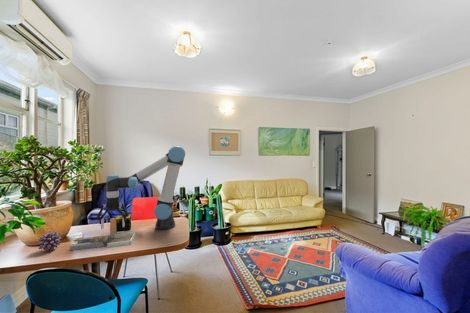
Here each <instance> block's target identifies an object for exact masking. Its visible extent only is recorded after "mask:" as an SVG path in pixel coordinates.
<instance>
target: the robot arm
mask: <svg viewBox="0 0 470 313" xmlns="http://www.w3.org/2000/svg"><path fill="white" fill-rule="evenodd" d="M185 157H186V150H185V148H183V147H182V146H180V145H174V146H172V147H170V149H169V150H168V152H167V153H166V154H165V155H164V156H163V157H161V158H159V159H158V160H156V161H154V162H152V163H151V164H149V165H148V166H145V167H144V168H142V169H141V170H139V171H137V172H136V173H134V174H132V175H130V176H127V177H120V175H119V174H108V175H106V204H101V205H100V209H99V212H98V214H97V216H96V220H98V221H99V225H100V229H101V230H103V229H105V228H104V226H105V225H104V224H105V222H104V221H105V219H104V217H105V216H106V215H107V213H108V212H109V211H110V212H111V211H112V212H113V211H117V212H118V213H119V214H120V216H123V218H122V219H123V227H124V226H125V222H126V217H128V216H129V215H130V214H129V212H128V210H127V208H126V206H125V203H124V202H123V203H120V197H119V196H120V189H134V188H137V187H138V186H139V183H141V182H142V181H145V180H146V179H147V178H149V177H151V176H152V175H154V174H156V173H158V172H159V171H161V170H164V168H166V167H167V168H166V173H165V176H164V181H163V184H162V190H161V194H160V196H159V197H158V198H157V201H156V204H155V207H154V209H153V214H154V217H155V218H156V222H155V226H154V227H155V229H156V230H160V231H164V230H165V231H166V230H170V229H174V228H175V227H176V221H175V218H174V207H173V206H174V203H175V202H174V199H173V198H174V193H175V189H176V186H177V181H178V178H179V173H180V168H181V167H182V166H183V164H184V162H185V161H184V160H185ZM120 207H121V208H120ZM105 208H106V210H105V211H104V209H105ZM121 209H122V210H123V211H122V210H121ZM103 211H104V212H103Z"/></svg>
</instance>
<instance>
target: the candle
mask: <svg viewBox="0 0 470 313" xmlns="http://www.w3.org/2000/svg"><path fill="white" fill-rule="evenodd" d="M131 216H132V214H129V216H128V217H126V222H125V226H124V227H123V219H122V218H123V216H122V215H116V217H115V218H116V232H117V233H121V232H128V231H131V230H132V221H131V220H132V218H131Z"/></svg>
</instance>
